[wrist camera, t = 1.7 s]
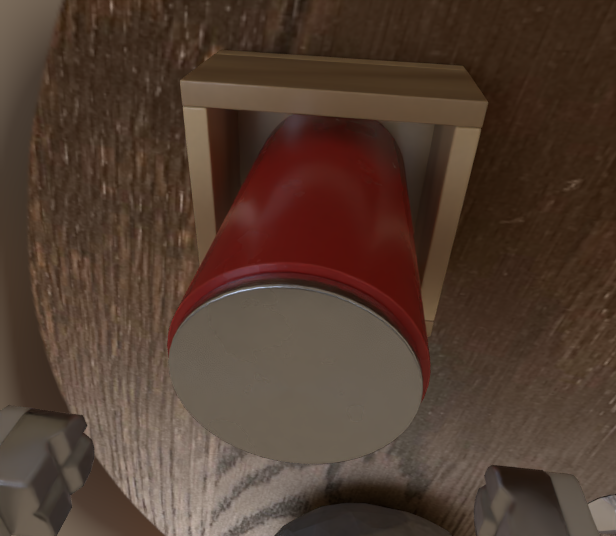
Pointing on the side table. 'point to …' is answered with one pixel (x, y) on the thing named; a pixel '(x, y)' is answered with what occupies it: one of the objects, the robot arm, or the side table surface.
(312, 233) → the can
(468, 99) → the holder
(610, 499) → the wineglass
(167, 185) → the side table surface
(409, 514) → the dark grey metal pot
